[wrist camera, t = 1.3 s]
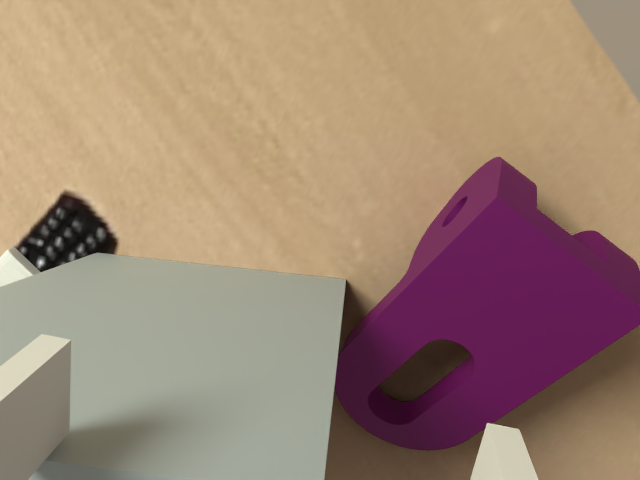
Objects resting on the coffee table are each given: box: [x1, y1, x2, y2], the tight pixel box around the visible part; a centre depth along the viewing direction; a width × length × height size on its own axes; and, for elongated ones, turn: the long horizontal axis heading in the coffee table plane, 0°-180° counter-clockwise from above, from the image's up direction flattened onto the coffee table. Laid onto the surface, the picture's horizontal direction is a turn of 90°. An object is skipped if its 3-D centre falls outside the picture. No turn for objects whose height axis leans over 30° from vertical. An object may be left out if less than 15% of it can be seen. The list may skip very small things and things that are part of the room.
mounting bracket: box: [335, 157, 640, 450], centre depth 35 cm, size 10×8×18 cm
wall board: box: [0, 253, 346, 480], centre depth 26 cm, size 14×17×24 cm
